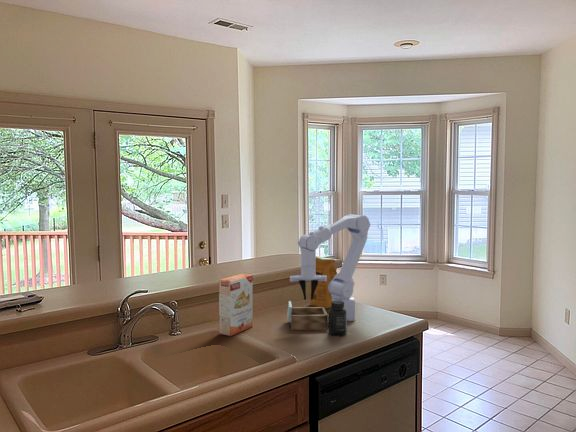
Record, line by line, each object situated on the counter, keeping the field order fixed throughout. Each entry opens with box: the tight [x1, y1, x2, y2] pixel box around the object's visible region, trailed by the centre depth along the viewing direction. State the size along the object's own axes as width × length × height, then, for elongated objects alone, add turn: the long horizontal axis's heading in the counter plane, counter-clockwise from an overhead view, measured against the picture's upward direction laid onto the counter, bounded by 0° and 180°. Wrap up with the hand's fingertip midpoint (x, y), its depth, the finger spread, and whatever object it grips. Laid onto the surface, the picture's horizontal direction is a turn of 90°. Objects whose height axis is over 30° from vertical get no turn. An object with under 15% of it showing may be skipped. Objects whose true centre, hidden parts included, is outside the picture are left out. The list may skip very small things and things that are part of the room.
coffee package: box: [308, 256, 338, 310], centre depth 219 cm, size 10×12×22 cm
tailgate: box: [286, 300, 293, 324], centre depth 190 cm, size 1×9×6 cm, turn 2°
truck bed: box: [289, 306, 328, 331], centre depth 191 cm, size 14×12×6 cm
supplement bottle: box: [327, 301, 348, 337], centre depth 180 cm, size 7×7×12 cm
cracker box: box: [218, 273, 254, 337], centre depth 183 cm, size 14×6×21 cm, turn 148°
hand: (308, 299), depth 190 cm, fingers open, 2 cm apart
